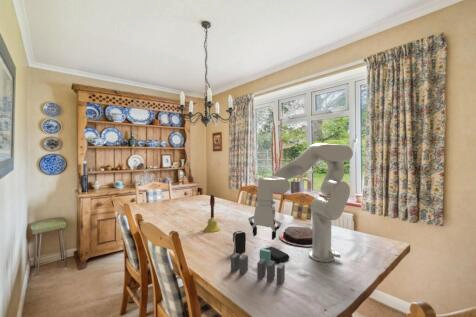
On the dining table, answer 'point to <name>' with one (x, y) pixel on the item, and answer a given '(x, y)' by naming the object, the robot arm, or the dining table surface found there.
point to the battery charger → (239, 241)
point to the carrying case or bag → (277, 255)
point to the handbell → (212, 219)
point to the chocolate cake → (297, 236)
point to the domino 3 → (265, 255)
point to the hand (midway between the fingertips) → (264, 237)
